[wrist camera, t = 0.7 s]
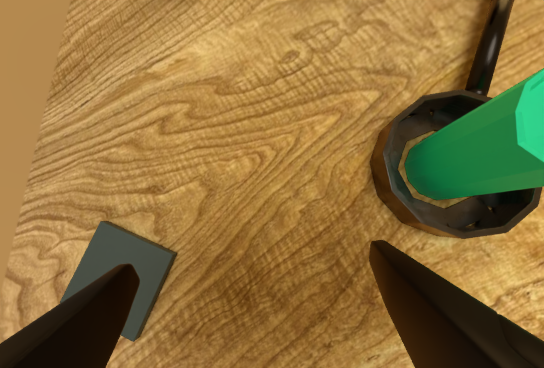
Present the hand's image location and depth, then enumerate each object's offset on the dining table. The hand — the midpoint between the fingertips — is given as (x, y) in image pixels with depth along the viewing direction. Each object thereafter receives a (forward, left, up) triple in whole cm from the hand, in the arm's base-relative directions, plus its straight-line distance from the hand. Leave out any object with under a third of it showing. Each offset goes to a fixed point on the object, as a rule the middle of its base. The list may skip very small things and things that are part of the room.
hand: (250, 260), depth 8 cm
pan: (-2, -23, -13) cm, 26 cm away
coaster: (+7, +13, -13) cm, 19 cm away
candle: (-5, -16, -13) cm, 21 cm away
